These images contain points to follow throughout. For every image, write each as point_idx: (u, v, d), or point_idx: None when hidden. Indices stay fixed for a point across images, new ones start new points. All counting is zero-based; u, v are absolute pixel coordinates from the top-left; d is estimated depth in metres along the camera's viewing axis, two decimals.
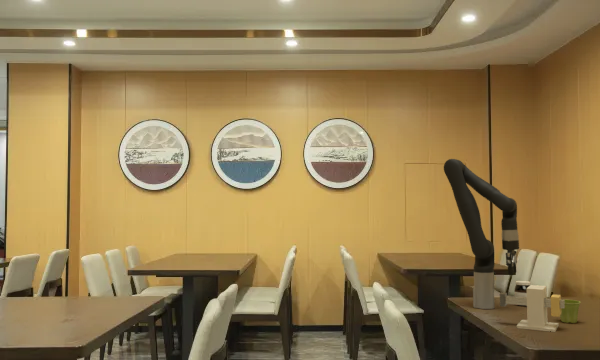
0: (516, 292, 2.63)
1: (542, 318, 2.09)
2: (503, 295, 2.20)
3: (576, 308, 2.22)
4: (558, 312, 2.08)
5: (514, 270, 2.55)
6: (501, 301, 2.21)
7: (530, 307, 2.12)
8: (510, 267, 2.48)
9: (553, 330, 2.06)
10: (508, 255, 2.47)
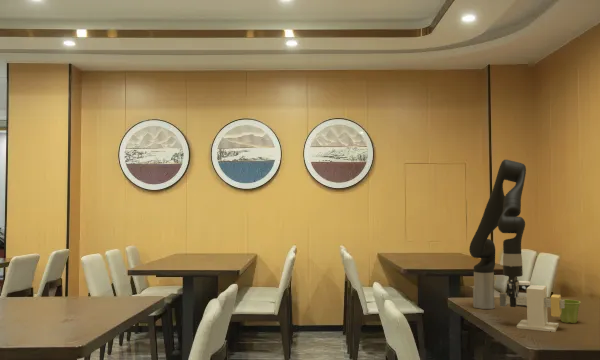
0: None
1: (542, 318, 2.09)
2: (503, 295, 2.20)
3: (576, 308, 2.22)
4: (558, 312, 2.08)
5: None
6: (501, 301, 2.21)
7: (530, 307, 2.12)
8: (512, 298, 2.18)
9: (553, 330, 2.06)
10: (510, 287, 2.16)
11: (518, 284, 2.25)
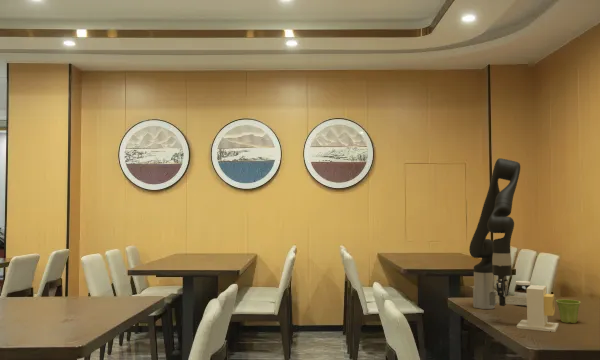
0: (516, 292, 2.63)
1: (542, 318, 2.09)
2: (493, 294, 2.23)
3: (576, 308, 2.22)
4: (551, 311, 2.10)
5: None
6: (491, 300, 2.23)
7: (530, 307, 2.12)
8: (502, 298, 2.20)
9: (553, 330, 2.06)
10: (499, 286, 2.18)
11: None
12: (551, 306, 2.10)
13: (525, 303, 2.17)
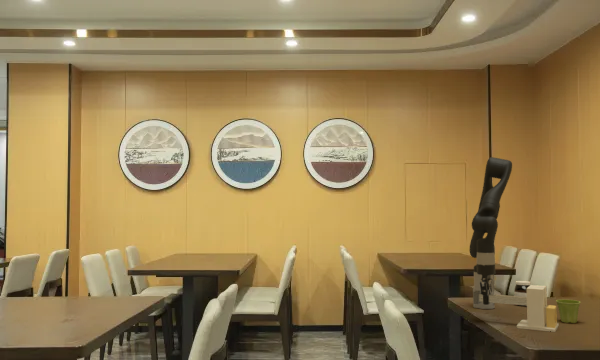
0: (516, 292, 2.63)
1: (542, 318, 2.09)
2: (476, 293, 2.26)
3: (576, 308, 2.22)
4: (553, 323, 2.09)
5: None
6: (475, 299, 2.26)
7: (530, 307, 2.12)
8: (485, 296, 2.24)
9: (553, 330, 2.06)
10: (483, 285, 2.21)
11: None
12: (553, 318, 2.09)
13: (508, 302, 2.20)
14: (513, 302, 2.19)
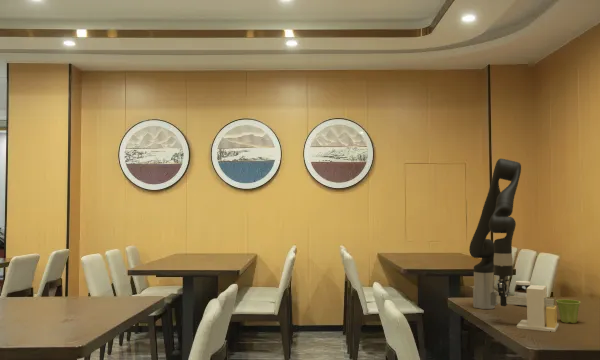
0: (516, 292, 2.63)
1: (542, 318, 2.09)
2: (494, 294, 2.22)
3: (576, 308, 2.22)
4: (553, 323, 2.09)
5: None
6: (492, 300, 2.23)
7: (530, 307, 2.12)
8: (503, 298, 2.20)
9: (553, 330, 2.06)
10: (500, 286, 2.18)
11: (509, 283, 2.27)
12: (553, 318, 2.09)
13: (526, 303, 2.17)
14: None
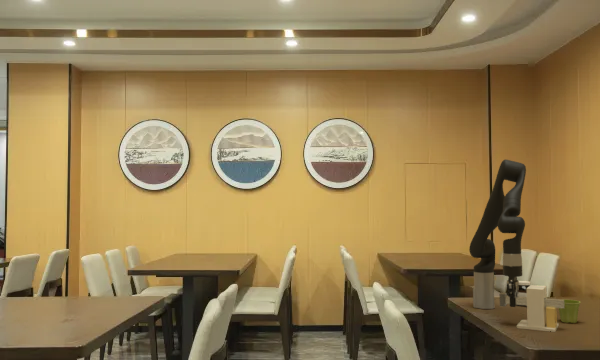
0: None
1: (542, 318, 2.09)
2: (503, 295, 2.20)
3: (576, 308, 2.22)
4: (553, 323, 2.09)
5: None
6: (501, 301, 2.21)
7: (530, 307, 2.12)
8: (512, 298, 2.18)
9: (553, 330, 2.06)
10: (510, 287, 2.16)
11: (518, 284, 2.25)
12: (553, 318, 2.09)
13: None
14: None
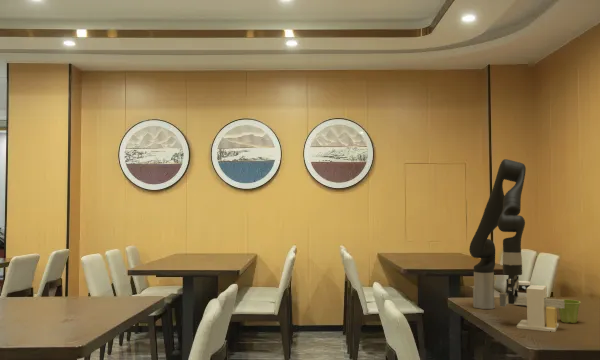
0: None
1: (542, 318, 2.09)
2: (503, 295, 2.20)
3: (576, 308, 2.22)
4: (553, 323, 2.09)
5: None
6: (501, 301, 2.21)
7: (530, 307, 2.12)
8: (511, 295, 2.16)
9: (553, 330, 2.06)
10: (509, 282, 2.15)
11: (518, 279, 2.26)
12: (553, 318, 2.09)
13: None
14: None
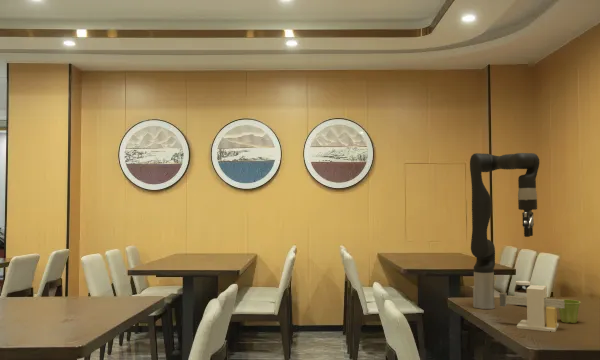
0: (516, 292, 2.63)
1: (542, 318, 2.09)
2: (503, 295, 2.20)
3: (576, 308, 2.22)
4: (553, 323, 2.09)
5: (530, 233, 2.32)
6: (501, 301, 2.21)
7: (530, 307, 2.12)
8: (527, 228, 2.24)
9: (553, 330, 2.06)
10: (525, 215, 2.24)
11: None
12: (553, 318, 2.09)
13: None
14: None
